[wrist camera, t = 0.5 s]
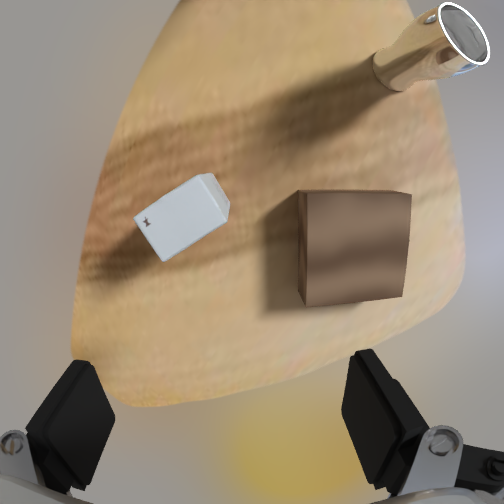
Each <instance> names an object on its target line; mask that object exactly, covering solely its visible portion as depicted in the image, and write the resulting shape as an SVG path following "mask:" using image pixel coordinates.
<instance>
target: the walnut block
mask: <svg viewBox="0 0 504 504" xmlns="http://www.w3.org/2000/svg"><path fill="white" fill-rule="evenodd" d="M411 198H412V195H411V194H407V193H402V192H397V191H389V190H298V225H299V268H298V291H299V293H300V295H301V297H302V299H303V301H304V304H305V306H306V307H313V306H325V305H335V304H345V303H355V302H364V301H372V300H380V299H388V298H396V297H402V294H403V287H404V280H405V273H406V265H407V256H408V246H409V234H410V220H411Z"/></svg>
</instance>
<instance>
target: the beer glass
mask: <svg viewBox="0 0 504 504" xmlns="http://www.w3.org/2000/svg"><path fill="white" fill-rule="evenodd" d="M489 56H490V50H489V45H488V41H487V39H486V36H485V34H484V32H483V30H482V29H481V27H480V26H479V24H478V23H477V22H476V20H475V19H474V18H473V17H472V16H471V15H470V14H469V13H468V12H467V11H466V10H464V9H463V8H461V7H460V6H458V5H456V4H454V3H450V2H444V3H441V4H440V5H438V6H436V7H434V8H432V9H430V10H428V11H427V12H424V13H423V14H421V15H420V16H418V17H417V18H416V19H414V20H413V21H412V22H411V23H410V24H409V25H408V26H407V27H406V28H405V29H404V30H403V32H402V33H401V34H400V36H399V37H398V39H397V40H396V41H395V42H394V44H392V45H391V46H389V47H387V48H383V49H381V50H379V51H377V52H376V53H375V55H374V57H373V60H372V66H373V70H374V73H375V75H376V76H377V78H378V79H379V81H380V82H381V83H382V84H383V85H385V86H386V87H387V88H389V89H391V90H394V91H404V90H407V89H408V88H410V87H411V86H412V85H413V84H414V83H416V82H418V81H423V80H435V79H444V78H450V77H453V76H457V75H460V74H463V73H466V72H468V71H470V70H473V69H475V68H477V67H479V66H482V65H484V64H486V63H487V62H488V60H489Z"/></svg>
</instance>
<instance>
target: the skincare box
mask: <svg viewBox="0 0 504 504" xmlns="http://www.w3.org/2000/svg"><path fill="white" fill-rule="evenodd" d="M229 209H230V202H229V200H228V198H227V197H226V195H225V193H224V192H223V190H222V188H221V187H220V185H219V183H218V182H217V180H216V178H215V177H214V175H213V174H212V173H207V174H199V175H195V176H194V177H192V178H191V179H189V180H188V181H186V182H185V183H183V184H181V185H180V186H178V187H177V188H175V189H174V190H172V191H171V192H169V193H167V194H166V195H164V196H162V197H161V198H160V199H159V200H157V201H156V202H154V203H153V204H151V205H150V206H148V207H147V208H146V209H144V210H143V211H141V212H140V213H139V214H137V215H136V216H135V217H134V218H133V220H134V221H135V223H136V224H137V226H138V227H139V229H140V230H141V231H142V233H143V234H144V236H145V237H146V239H147V240H148V242H149V243H150V245H151V246H152V248H153V249H154V250H155V252H156V253H157V255H158V256H159V258H160V259H161V260H162V262H165V261H166V260H168V259H170V258H171V257H173V256H175V255H176V254H178V253H180V252H181V251H183V250H184V249H186V248H187V247H189V246H190V245H192V244H193V243H195V242H196V241H198V240H199V239H201V238H203V237H204V236H206V235H207V234H209V233H211V232H212V231H214V230H215V229H217V228H219V227H220V226H222V225H223V224H225V223H227V221H228V214H229Z"/></svg>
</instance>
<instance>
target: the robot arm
mask: <svg viewBox="0 0 504 504" xmlns="http://www.w3.org/2000/svg"><path fill="white" fill-rule="evenodd" d="M341 410H342V417H343V419H344V421H345V424H346V427H347V429H348V431H349V434H350V437H351V440H352V442H353V445H354V447H355V450H356V453H357V455H358V458H359V460H360V463H361V465H362V468H363V471H364V473H365V476H366V479H367V481H368V483H369V484H374V487H375V489H376V490H377V489H380V488H383V487H386V489H387V491H388V492H389V493H390V494H389V496H388V498H387V499H385V500H382V501H378V502H374V503H371V504H504V452H500V451H495V450H489V449H483V448H478V447H473V446H469V445H465V444H463V438H462V436H461V434H460V433H459V432H458V431H457V430H456V429H454V428H452V427H449V426H443V425H440V426H434V427H432V428H429V426H428V425H427V423H426V422H425V420H424V419H423V417H422V416H421V414H420V413H419V411H418V410H417V408H416V407H415V405H414V404H413V402H412V401H411V399H410V398H409V396H408V395H407V393H406V392H405V390H404V389H403V387H402V386H401V384H400V383H399V382H398V381H397V380H396V379H393V378H392V377H391V376H390V374H389V373H388V371H387V370H386V368H385V367H384V366H383V364H382V362H381V361H380V360H379V358H378V357H377V355H376V354H375V352H374V351H373V350H372V349H365V350H360V351H356V352H355V354H354V356H351V357H350V361H349V368H348V374H347V380H346V386H345V392H344V397H343V402H342V409H341ZM114 423H115V414H114V412H113V410H112V408H111V406H110V404H109V401H108V399H107V397H106V395H105V392H104V390H103V388H102V385H101V383H100V380H99V378H98V376H97V373H96V370H95V368H94V366H93V365H91V364H90V362H89V361H84V360H74V361H73V362H72V363H71V364H70V366H69V367H68V368H67V370H66V371H65V372H64V374H63V375H62V376H61V378H60V379H59V380H58V382H57V383H56V384H55V386H54V387H53V389H52V390H51V391H50V393H49V394H48V396H47V397H46V398H45V400H44V401H43V403H42V404H41V406H40V407H39V408H38V410H37V411H36V413H35V414H34V416H33V417H32V419H31V420H30V422H29V423H28V425H27V426H26V428H25V429H26V430H27V432H28V433H27V434H26V435H25V434H24V433H23V432H21V431H19V430H10V431H8V432H6V433H4V434H3V435H2V436H1V437H0V504H93V503H89V502H86V501H82V500H80V499H76V498H73V497H72V494H71V492H70V488H71V486H72V487H73V488H76V489H80V490H83V491H85V488H86V485H89V484H90V483H91V481H92V478H93V475H94V473H95V470H96V467H97V465H98V462H99V460H100V457H101V454H102V452H103V450H104V447H105V445H106V442H107V440H108V437H109V434H110V432H111V430H112V427H113V425H114Z"/></svg>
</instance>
